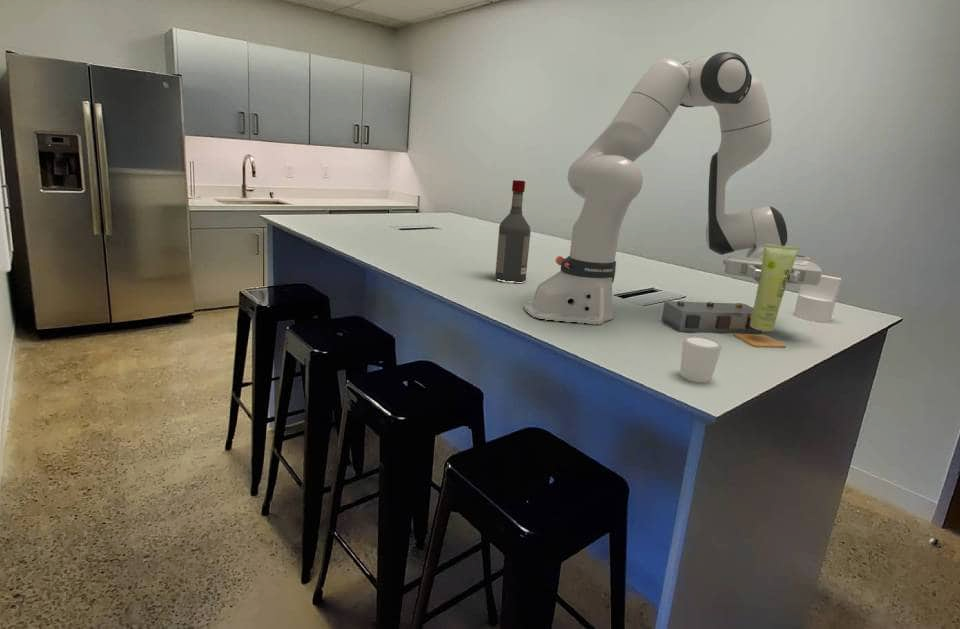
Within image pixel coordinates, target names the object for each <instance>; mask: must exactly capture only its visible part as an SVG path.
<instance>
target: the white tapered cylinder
mask: <svg viewBox="0 0 960 629" xmlns="http://www.w3.org/2000/svg"><path fill="white" fill-rule="evenodd" d="M721 349H722V344H721V343H720V342H718V341H716V340H714V339H710V338H707V337H701V336H684V337H683V338H682V349H681V359H680V360H681V361H680V371H679V373H680V377H682V378H684V379H685V380H688V381H689V382H690V381H691V382H696V383H706V384H707V383H710V382H711V381H712V380H713V376H714V373H715V369H716V366H717V364H718V360H719V357H720V354H721Z"/></svg>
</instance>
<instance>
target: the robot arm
mask: <svg viewBox="0 0 960 629" xmlns="http://www.w3.org/2000/svg"><path fill="white" fill-rule="evenodd" d="M680 106H681V107H685V108H694V107H695V108H696V107H705V108H706V107H710V106H712V107H713V108H714V109H715V110H716V112H717V115H718V118H719V128H720V135H721V136H720V137H721V138H720V143H719V147H718V149H717V152H715V153H714V154H712V156H711V159H710V161H709V162H710V164H709V173H708V175H709V178H708V198H707V201H708V202H707V203H708V204H707V205H708V206H707V212H708V214H707V221H706V222H707V223H706V228H705V241H706V245H707V246H708V249H709V250H711V251H712V252H714V253H716V254H718V255H721V256H722V255H727V254H731V253H735V252H736V251H741V250H742V251H743V250H747V252H746V255H745V256H738V255H730V256H727V258H726V259H723V263H722V264H724V265H725V266H724V273H725V274H727V275H734V276H742V277H748V278H752V279H753V280H754V281H755V282H757V283H759V279H760V274H761V268H762V262H763V255H764V246H765V244H767V245H777V246H786V244H788V230H787V225H786V224H787V223H786V222H785V218H784V216H783V214H782V213H781V212H780V211H779V210H778V209H776V208H775V207H773V206H771V205H768V206H764V207H758V208H753V209H750V210H745V211H739V212H736V213H731V214H727V213H725V206H726V186H727V183H728V181H729V179H730V178H732V176H733V175H735V174H736V173H737V172H739V171H741V169H743V168H745V167H746V166H748V165H749V164H751V163H753V162H755V161H757V159H758V158H760V157H761V156H762V155H763V154H764V153H765V152H766V151H767V150H768V148H769V146H770V144H771V141H772V139H773V138H772V137H773V136H772V133H773V132H772V131H773V130H772V118H771V112H770V107H769V102H768V98H767V95H766V92H765V88H764V86H763V83H762V82H761V79H759V78H757V76H756V77H755V76H753V75H752V73H751V71H750V68H749V66H748V64H747V62H746V60H745V59H744V58H743V57H742V56H741V55H740V54H738V53H736V52H730V51H722V52H721V51H720V52H718V53H715V54H708V55H703V56H699V57H697V58H694V59H692V60H689V61H685V62H684V63H681V62H680V61H678V60H675V59H672V58H661V59H659V60H658V61H655V63H653V65H651V67H650V68H649V69H648V70H647V71H646V72H645V73H644V75H643V76H641V78H640V79H639V81H638V82H637V84H636V85H635V86H634V87H633V88H632V90H631V91H630V93H629V95H628V96H627V98H626V99H625V101H624V102H623V104H622V105H621V106H620V108H619V110H618V112H617V113H616V115H614V116H615V117H614V118H613V119H612V120H611V122H610V123H609V124H608V126H607V127H606V128H605V129H604V131H602V133H600V135H599V136H598V137H597V138H596V139H595V140H594V141H593V142H592V143H591V145H590V146H589V147H588V148H587V149H586V150H585V151H584V153H582V154H581V156H580V157H577V158H576V159H575V160H574V161H573V162H572V164H571V165H570V166H569V168H568V172H567V182H568V185H569V187H570V188H571V190H572V191H573V192H574V193H575V194H577V195H578V196H579V197H580V198H583V199H584V202H583V205H582V209H581V212H580V214H579V217H578V218H577V219H576V221H575V222H574V224H573V227H572V235H571V242H570V250H569V251H570V252H569V255H568V256H567V257H565V258H564V257H562V256H560V255H558V256H557V257H556V258H555V263H556V265H558V266H560V270H559V271H558V272H557V273H555V274H554V275H551V276H550V277H549V278H547V279H545V280H544V281H542V282H541V283H540V284H539V285H538V286H537V288H536V290H535V293H534V296H533V300H531V301H526V302H525V303H524V305H523V306H524V307H525V309H526V311H527V312H529V313H530V314H531V315H532V316H534V317H536V318H539V319H545V320H544V321H547V320H554V321H553V322H559V321H565V322H564V323H571V322H577V323H576V324H584V323H587V324H586V325H588V324H589V325H597V324H598V325H599V326H600V325H602V324H603V323H604V322H607V321H610V320H612V319H614V310H613V300H612V299H613V297H612V296H613V294H612V293H613V283H614V280H615V277H616V270H617V269H616V268H617V261H616V260H615V259H616V255H617V248H618V243H619V235H620V230H621V227H622V224H623V221H624V218H625V216H626V213H627V211H628V209H629V206H630V204H631V203H632V202H633V200H634V199H635V198H637V197H638V195H639V194H640V192H641V190H642V188H643V183H644V181H643V180H644V178H643V173H642V171H641V168H640V167H639V165H638V164H636V163H635V162H636V161H637V159H639V157H641V156H642V155H643V154H645V153H647V152H648V151H649V150H650V149H651V148H652V147H653V146H654V144H655V143H656V141H657V139H659V137H660V135H661V134H662V132H663V130H664V129H665V128H666V126H667V124H668V123H669V122H670V120H671V118H672V117H673V115H674V114H675V112H676V111H677V109H678V107H680ZM822 272H823V270H822V268H821V267H820V266H819V265H818V264H817V263H815V262H812V261H811V258H810V257H809V256H804V255H798V254H797V256H796V259H795V261H794V264H793V267H792V270H791V273H790V275H789V278H788V281H787V284H796V285H801V284H810V285H818V284H819V282H820V279H821V275H823V273H822ZM524 307H523V308H524ZM525 309H524V310H525ZM526 311H525V312H526ZM527 312H526V313H527ZM532 316H531V317H532ZM534 317H533V318H534ZM536 318H535V319H536ZM539 319H538V320H539Z"/></svg>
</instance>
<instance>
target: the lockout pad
mask: <svg viewBox="0 0 960 629" xmlns="http://www.w3.org/2000/svg"><path fill="white" fill-rule="evenodd" d="M733 336H734V337H736V339H737V338H738V339H740V340H741V341H742V342H745V343H746V344H747V345H749V346H751V347H754V348H787V345H785V344H783V343H781V342H780V341H778V340H776V339H774V338H771V337H770V336H768V335H766V334H763V333H733Z"/></svg>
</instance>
